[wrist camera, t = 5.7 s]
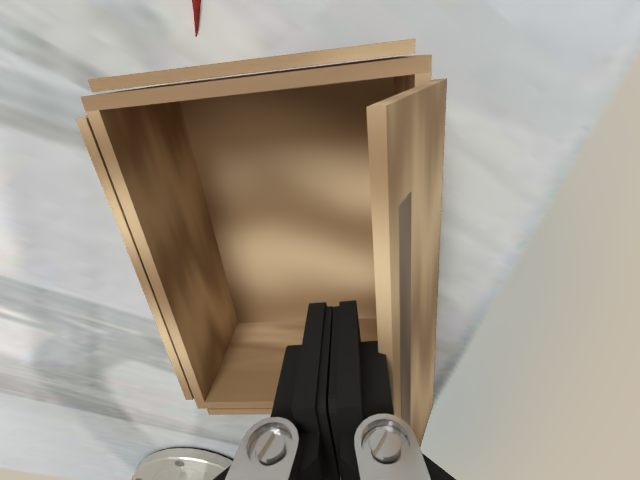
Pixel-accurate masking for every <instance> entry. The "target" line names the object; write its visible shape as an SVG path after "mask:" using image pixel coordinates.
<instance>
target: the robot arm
mask: <svg viewBox="0 0 640 480" xmlns="http://www.w3.org/2000/svg"><path fill="white" fill-rule="evenodd" d="M132 480H456V479H454V478H453V477H452V476H451V475H449V474H448V473H447V472H445V471H444V470H443V469H442V468H440V467H439V466H438V465H437V464H435V463H434V462H433V461H431V460H430V459H429V458H427V457H426V456H425V455H424V454H422V453H421V450H420V447H419V444H418V441H417V438H416V436H415V434H414V432H413V430H412V428H411V427H410V426H409V425H408V424H407V423H406V422H405V421H404V420H403V419H401V418H399V417H397V416H395V415H394V410H393V403H392V396H391V388H390V381H389V374H388V366H387V359H386V354H382V353H378V341H363V342H361V337H360V328H359V319H358V310H357V302H356V300H353V301H340V302H339V306H334V307H333V306H327V304H326V302H320V303H309V306H308V311H307V317H306V323H305V329H304V335H303V341H302V345H288V346H287V347H286V350H285V354H284V359H283V363H282V368H281V373H280V377H279V382H278V386H277V391H276V395H275V400H274V404H273V409H272V413H271V417H270V418H267V419H263V420H261V421H259V422H258V423H256V424H254V425H253V426H252V427H251V428H250V429H249V430H248V431H247V433H246V434H245V436H244V438H243V439H242V442H241V444H240V446H239V448H238V451H237V453H236V455H235V458H234V460H233V461H232V460H230V459H228V458H226V457H223V456H221V455H218V454H215V453H212V452H208V451H205V450H199V449H192V448H173V449H166V450H162V451H158V452H155V453H153V454H151V455H149V456H147V457H146V458H145V459H143V460H142V461H141V463H140V464H139V466H138V467H137V469H136V471H135V473H134V475H133V477H132Z"/></svg>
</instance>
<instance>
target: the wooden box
mask: <svg viewBox="0 0 640 480" xmlns="http://www.w3.org/2000/svg"><path fill="white" fill-rule="evenodd" d="M412 53H415V39H408V40H400V41H392V42H384V43H376V44H368V45H360V46H352V47H344V48H336V49H328V50H320V51H312V52H304V53H296V54H289V55H281V56H273V57H265V58H257V59H249V60H241V61H233V62H225V63H217V64H209V65H201V66H193V67H185V68H177V69H169V70H161V71H153V72H145V73H137V74H129V75H121V76H113V77H105V78H97V79H89V80H88V82H89V84H90V87H91V90H92V92H98V91H106V90H115V89H123V88H131V87H139V86H148V85H156V84H164V83H173V82H181V81H189V80H197V79H206V78H214V77H222V76H230V75H239V74H247V73H255V72H264V71H272V70H280V69H288V68H297V67H305V66H313V65H321V64H330V63H338V62H346V61H355V60H363V59H371V58H379V57H388V56H396V55H404V54H412ZM431 60H432V55H414V56H399V57H390V58H382V59H374V60H365V61H357V62H349V63H341V64H332V65H324V66H316V67H307V68H299V69H291V70H282V71H274V72H266V73H258V74H249V75H241V76H233V77H224V78H216V79H208V80H199V81H191V82H183V83H175V84H167V85H160V86H153V87H146V88H139V89H132V90H125V91H118V92H111V93H104V94H97V95H90V96H83V97H81V100H82V102H83V105H84V108H85V110H86V113H87V117H82V118H78V119H76V121H77V124H78V126H79V129H80V132H81V134H82V137H83V139H84V142H85V144H86V147H87V149H88V152H89V154H90V157H91V160H92V162H93V165H94V167H95V170H96V172H97V175H98V177H99V180H100V182H101V185H102V187H103V190H104V193H105V195H106V198H107V200H108V203H109V205H110V208H111V210H112V213H113V215H114V218H115V221H116V223H117V226H118V228H119V231H120V233H121V236H122V238H123V241H124V243H125V246H126V249H127V251H128V254H129V256H130V259H131V261H132V264H133V266H134V269H135V271H136V274H137V276H138V279H139V282H140V284H141V287H142V289H143V292H144V294H145V297H146V299H147V302H148V304H149V307H150V310H151V312H152V315H153V317H154V320H155V322H156V325H157V327H158V330H159V332H160V335H161V337H162V340H163V343H164V345H165V348H166V350H167V353H168V355H169V358H170V360H171V363H172V365H173V368H174V371H175V373H176V376H177V378H178V381H179V383H180V386H181V388H182V391H183V393H184V396H185V398H186V400H193V398H194V399H195V402H196V404H197V407H198V408H208V409H207V410H208V413H209V415H221V414H271V413H272V409H273V404H274V400H275V395H276V391H277V386H278V382H279V377H280V373H281V368H282V363H283V359H284V354H285V350H286V347H287V346H288V345H302V341H303V335H304V329H305V323H306V317H307V311H308V306H309V303H320V302H326V304H327V306H333V307H334V306H339V302H340V301H353V300H356V302H357V310H358V319H359V328H360V337H361V342H363V341H378V334H377V314H376V293H375V273H374V252H373V232H372V211H371V191H370V170H369V150H368V130H367V109H366V107H367V106H370V105H372V104H375V103H377V102H380V101H382V100H384V99H387V98H389V97H392V96H394V95H397V94H399V93H402V92H404V91H407V90H409V89H412V88H414V87H417V86H419V85H422V84H424V83H427V82H429V81H431Z"/></svg>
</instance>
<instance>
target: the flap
mask: <svg viewBox="0 0 640 480" xmlns="http://www.w3.org/2000/svg"><path fill="white" fill-rule="evenodd" d="M446 90H447V79H436V80H432V81H429V82H427V83H424V84H422V85H419V86H417V87H414V88H412V89H409V90H407V91H404V92H402V93H399V94H397V95H394V96H392V97H389V98H387V99H384V100H382V101H380V102H377V103H375V104H372V105H370V106H367V107H366V109H367V130H368V150H369V170H370V191H371V211H372V232H373V252H374V273H375V293H376V314H377V334H378V353H382V354H386V359H387V366H388V374H389V381H390V388H391V396H392V403H393V410H394V415H395V416H397V417H399V418H401V419H403V420H404V421H405V422H406V423H407V424H408V425H409V426H410V427H411V428H412V430H413V432H414V434H415V436H416V438H417V441H418V444H419V447H420V446H421V442H422V439H423V436H424V433H425V429H426V426H427V423H428V420H429V416H430V413H431V410H432V407H433V388H434V365H435V342H436V319H437V296H438V273H439V250H440V227H441V205H442V182H443V159H444V136H445V113H446Z"/></svg>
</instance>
